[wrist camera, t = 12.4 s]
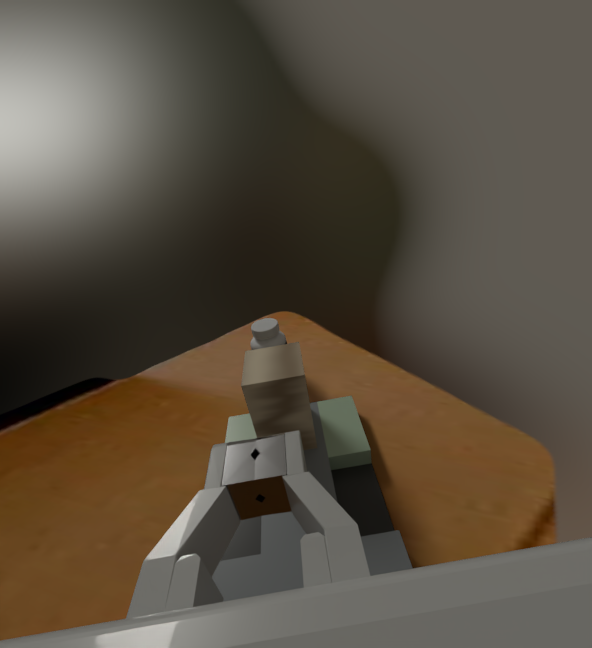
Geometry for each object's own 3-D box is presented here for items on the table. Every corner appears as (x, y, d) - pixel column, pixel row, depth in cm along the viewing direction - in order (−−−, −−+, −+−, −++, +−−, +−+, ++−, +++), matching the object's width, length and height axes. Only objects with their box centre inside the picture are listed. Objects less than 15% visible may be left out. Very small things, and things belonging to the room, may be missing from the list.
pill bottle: (283, 362, 53) (272, 312, 49) (299, 378, 49) (289, 324, 44) (254, 376, 51) (240, 324, 47) (268, 393, 47) (254, 338, 42)
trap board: (194, 740, 19) (181, 730, 18) (233, 430, 41) (228, 417, 40) (450, 696, 19) (453, 683, 18) (352, 410, 41) (351, 395, 40)
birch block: (263, 457, 34) (241, 385, 29) (263, 417, 39) (245, 351, 35) (317, 447, 34) (304, 374, 29) (310, 408, 39) (298, 341, 35)
